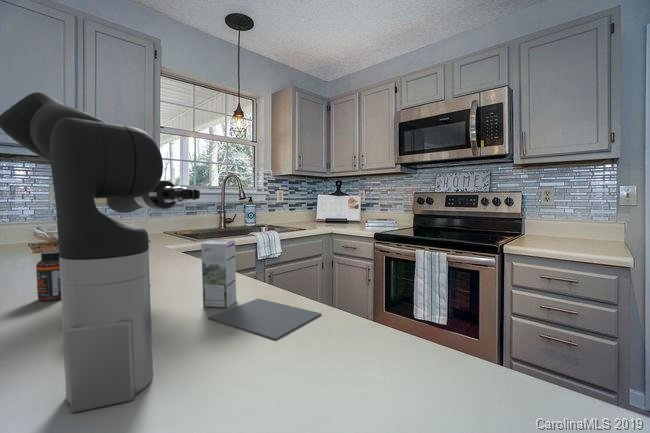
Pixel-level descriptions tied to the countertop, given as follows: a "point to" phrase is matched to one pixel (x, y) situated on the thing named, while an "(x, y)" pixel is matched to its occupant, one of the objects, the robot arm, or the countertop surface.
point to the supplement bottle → (49, 276)
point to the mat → (265, 318)
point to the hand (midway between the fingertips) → (195, 194)
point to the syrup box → (218, 273)
